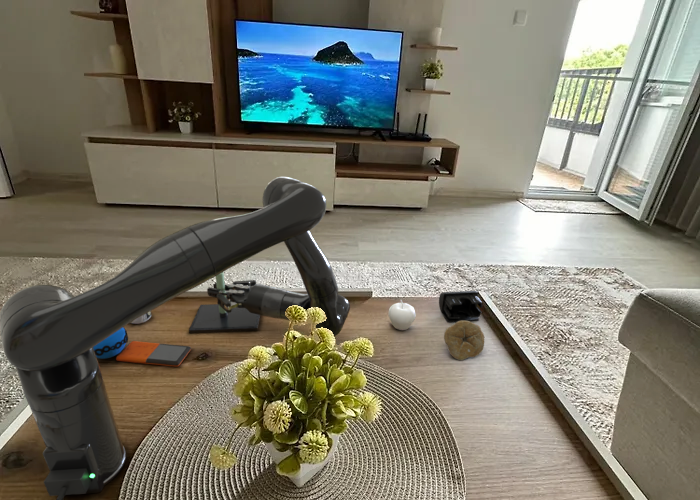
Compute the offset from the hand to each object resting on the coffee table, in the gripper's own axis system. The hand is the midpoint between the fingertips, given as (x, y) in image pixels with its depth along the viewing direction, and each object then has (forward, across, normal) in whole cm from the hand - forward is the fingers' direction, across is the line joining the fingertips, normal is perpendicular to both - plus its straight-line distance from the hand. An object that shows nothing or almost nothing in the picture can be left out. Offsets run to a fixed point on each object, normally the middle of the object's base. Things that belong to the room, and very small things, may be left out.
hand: (211, 289), depth 104 cm
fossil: (-65, -9, +8) cm, 66 cm away
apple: (-48, -13, +9) cm, 51 cm away
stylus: (-3, 0, +8) cm, 8 cm away
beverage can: (+18, +8, +9) cm, 21 cm away
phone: (+3, +18, +9) cm, 21 cm away
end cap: (-63, -24, +9) cm, 68 cm away
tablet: (-4, 0, +9) cm, 9 cm away
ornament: (+13, +22, +9) cm, 27 cm away
